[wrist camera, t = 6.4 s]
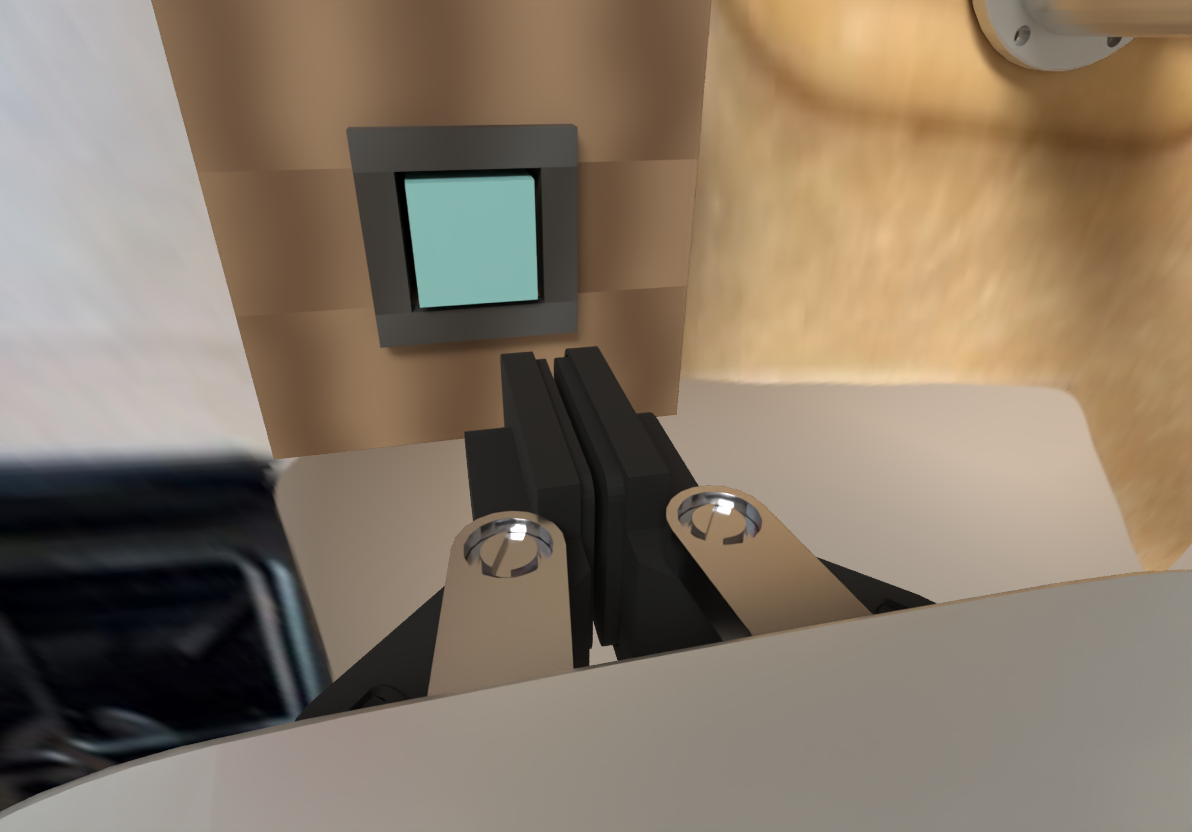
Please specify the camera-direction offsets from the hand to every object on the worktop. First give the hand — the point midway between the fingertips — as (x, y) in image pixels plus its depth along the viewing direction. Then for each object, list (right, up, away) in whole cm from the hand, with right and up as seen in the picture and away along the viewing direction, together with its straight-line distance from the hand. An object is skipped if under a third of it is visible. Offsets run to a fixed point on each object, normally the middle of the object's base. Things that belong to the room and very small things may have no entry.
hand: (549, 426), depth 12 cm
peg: (-5, +11, +18) cm, 22 cm away
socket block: (-6, +11, +19) cm, 22 cm away
